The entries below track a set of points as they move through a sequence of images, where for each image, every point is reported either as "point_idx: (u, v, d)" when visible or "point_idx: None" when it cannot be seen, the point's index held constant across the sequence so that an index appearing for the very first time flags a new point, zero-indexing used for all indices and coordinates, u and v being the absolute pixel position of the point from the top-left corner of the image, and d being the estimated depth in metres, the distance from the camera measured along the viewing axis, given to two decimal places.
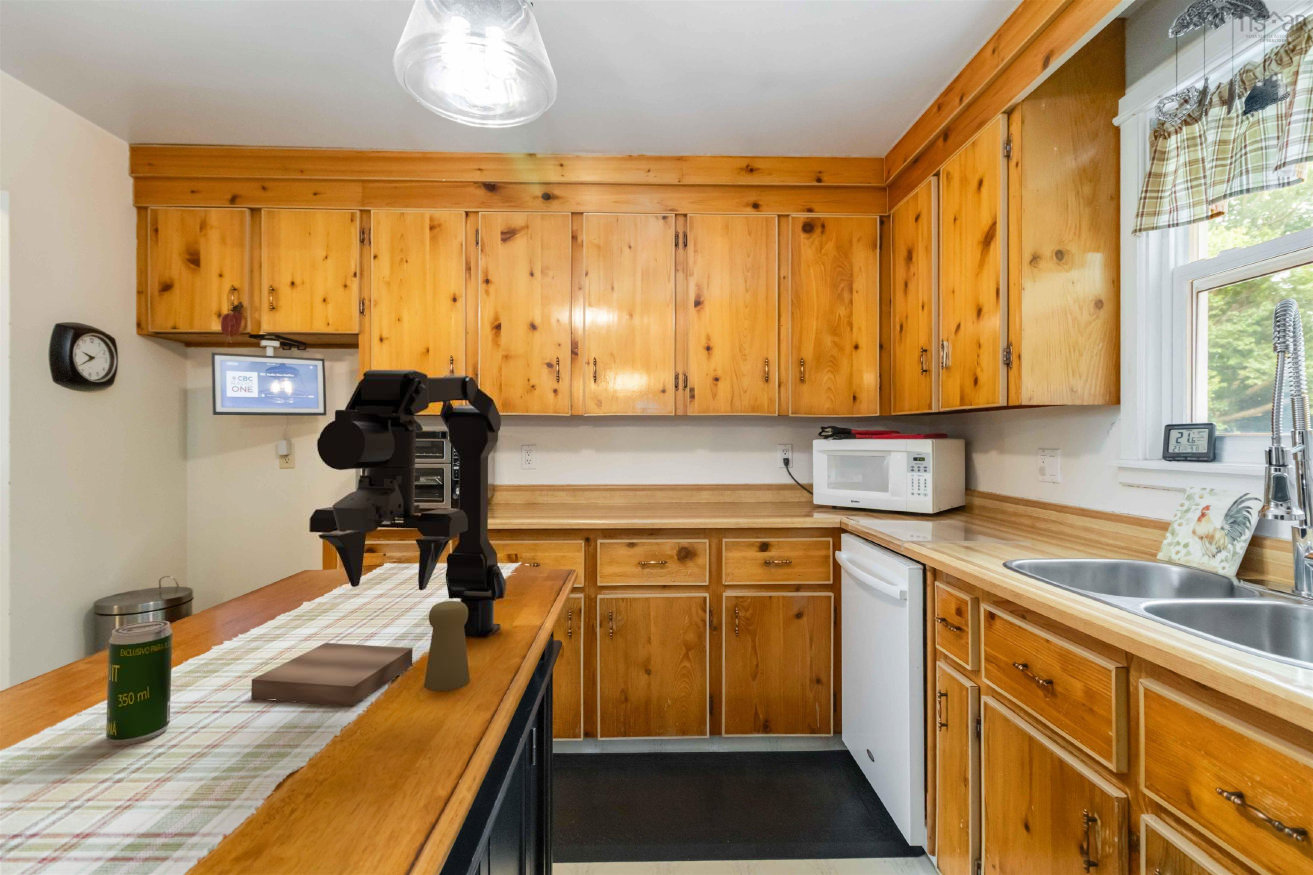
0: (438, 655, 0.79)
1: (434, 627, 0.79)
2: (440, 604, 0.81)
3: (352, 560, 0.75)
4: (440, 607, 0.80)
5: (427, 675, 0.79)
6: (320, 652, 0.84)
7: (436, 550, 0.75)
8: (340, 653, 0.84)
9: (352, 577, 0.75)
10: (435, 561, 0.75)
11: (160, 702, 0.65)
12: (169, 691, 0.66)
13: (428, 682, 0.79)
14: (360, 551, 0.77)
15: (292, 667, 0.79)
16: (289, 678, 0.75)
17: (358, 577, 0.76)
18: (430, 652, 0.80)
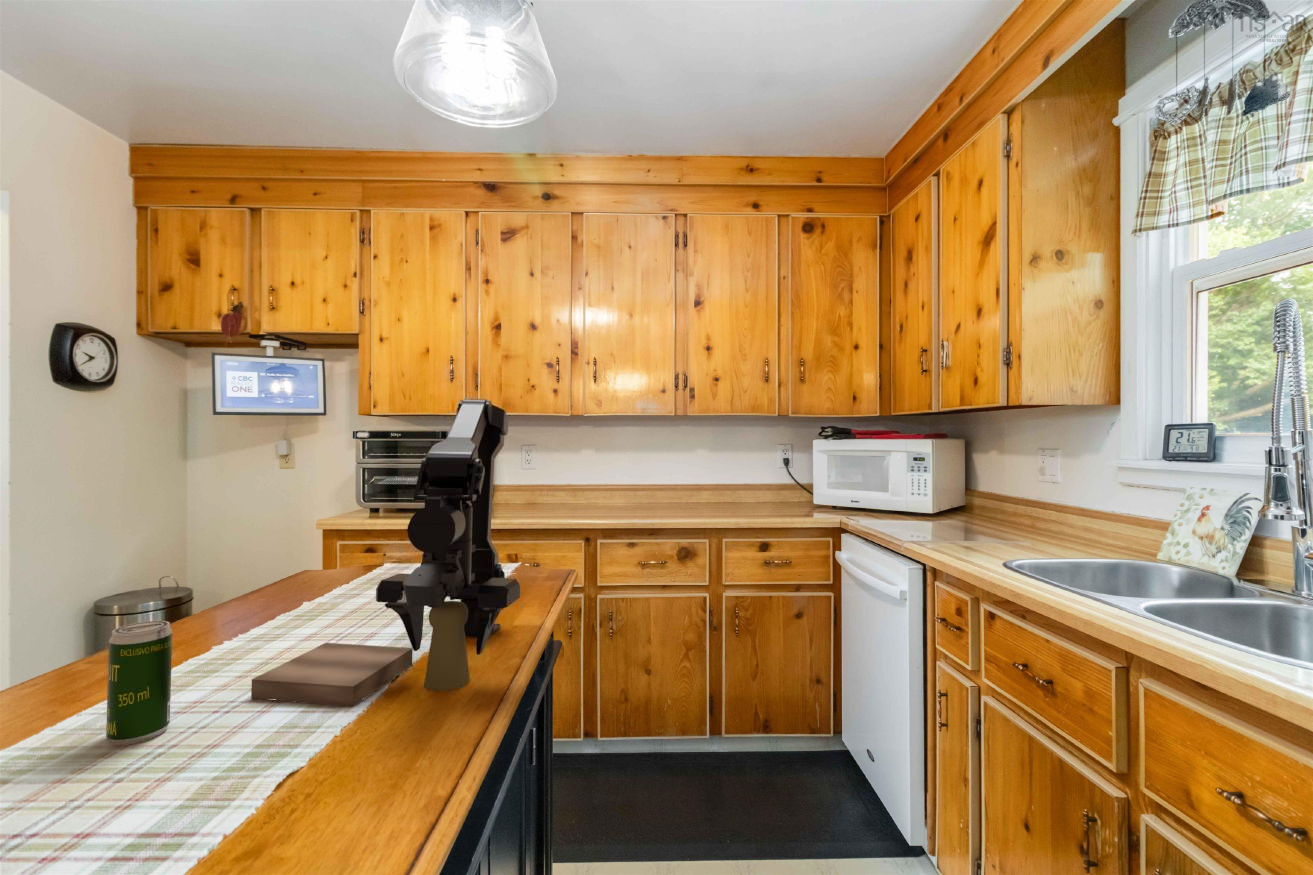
0: (438, 655, 0.79)
1: (434, 627, 0.79)
2: None
3: (414, 626, 0.81)
4: (440, 607, 0.80)
5: (427, 675, 0.79)
6: (320, 652, 0.84)
7: (491, 617, 0.81)
8: (340, 653, 0.84)
9: (414, 642, 0.81)
10: (490, 627, 0.81)
11: (160, 702, 0.65)
12: (169, 691, 0.66)
13: (428, 682, 0.79)
14: (420, 616, 0.83)
15: (292, 667, 0.79)
16: (289, 678, 0.75)
17: (419, 641, 0.82)
18: (430, 652, 0.80)
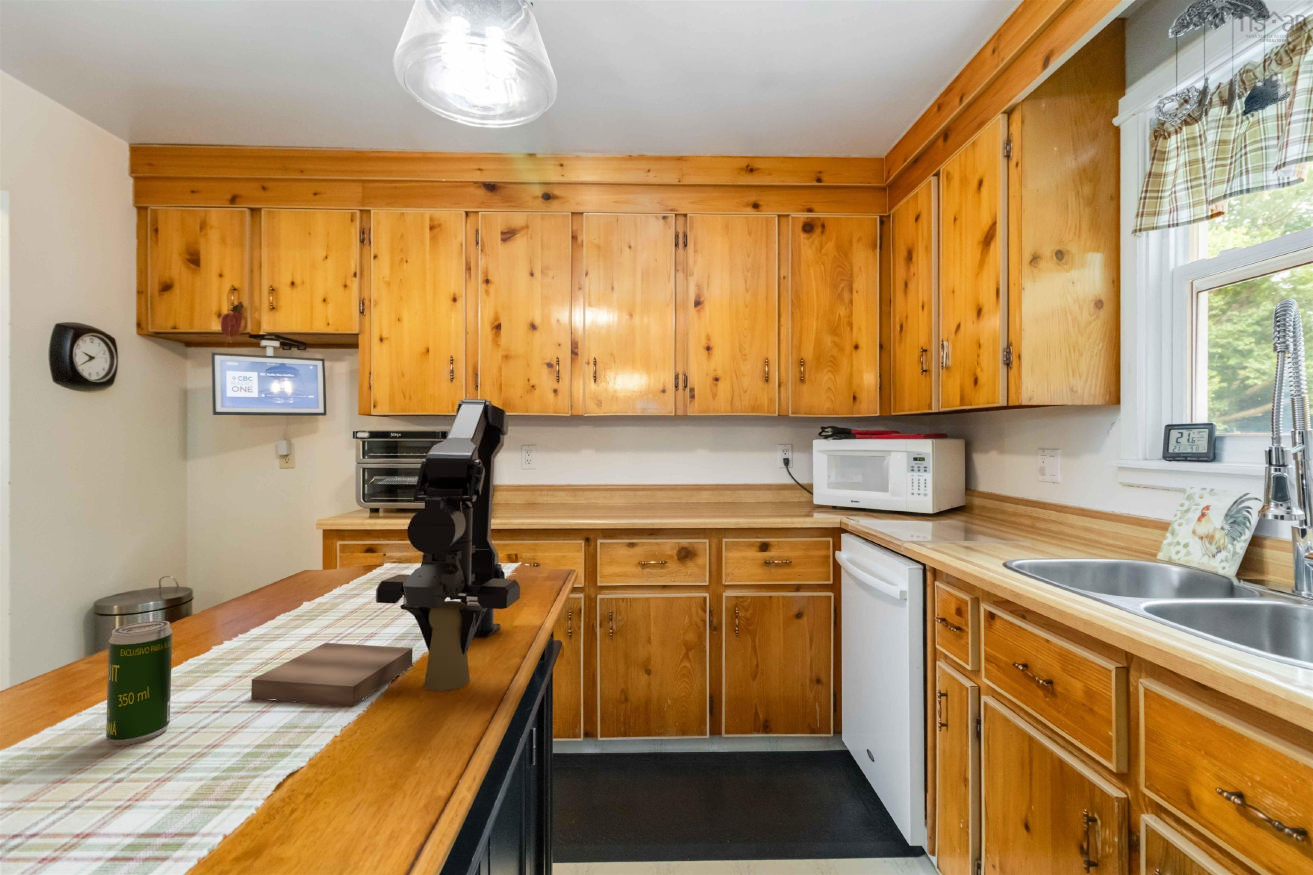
0: (438, 655, 0.79)
1: (434, 627, 0.79)
2: None
3: (429, 627, 0.81)
4: (440, 607, 0.80)
5: (427, 675, 0.79)
6: (320, 652, 0.84)
7: (476, 616, 0.82)
8: (340, 653, 0.84)
9: None
10: (475, 627, 0.82)
11: (160, 702, 0.65)
12: (169, 691, 0.66)
13: (428, 682, 0.79)
14: None
15: (292, 667, 0.79)
16: (289, 678, 0.75)
17: None
18: (430, 652, 0.80)
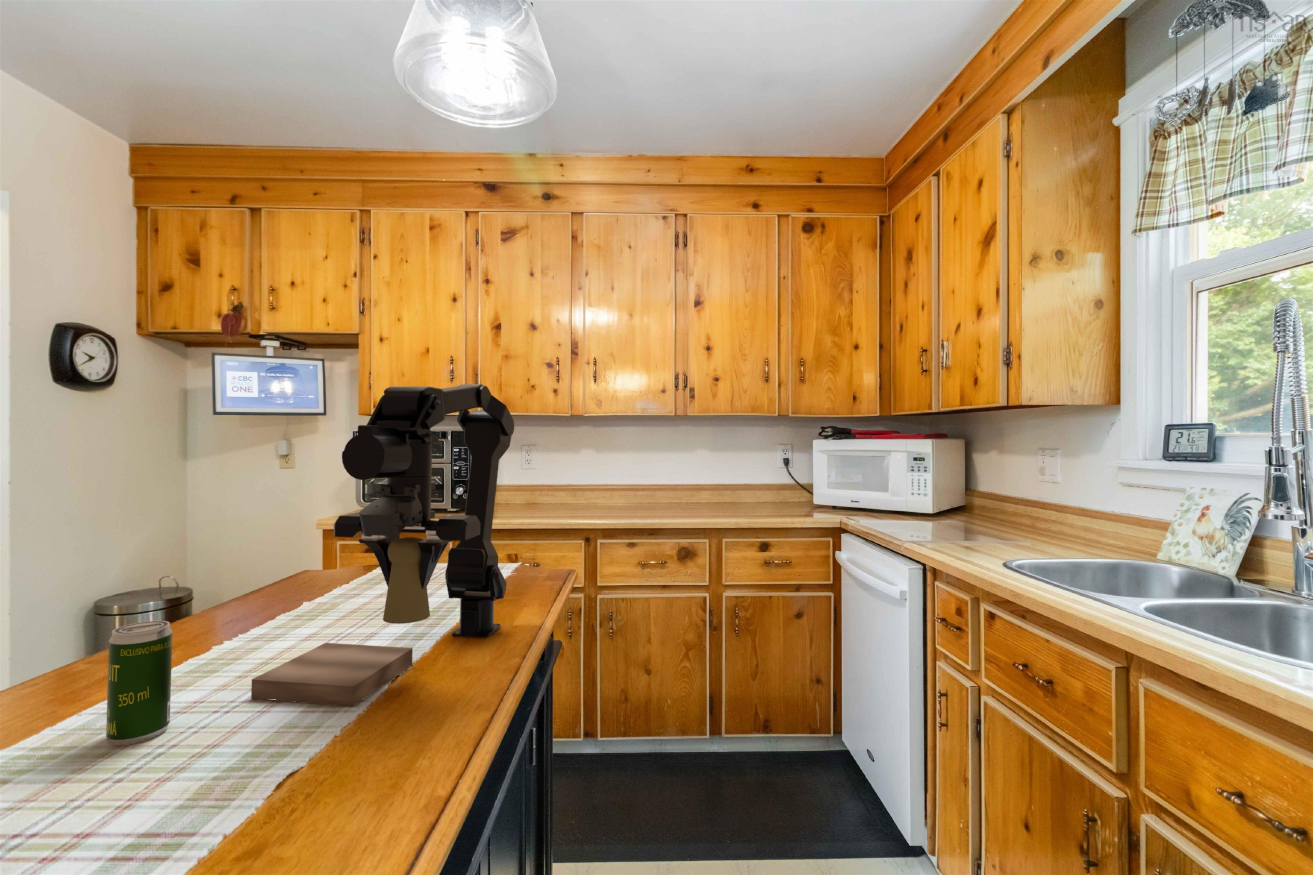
0: (396, 589, 0.79)
1: (393, 561, 0.79)
2: (399, 539, 0.80)
3: (389, 563, 0.81)
4: (399, 541, 0.79)
5: (386, 609, 0.79)
6: (320, 652, 0.84)
7: (436, 552, 0.82)
8: (340, 653, 0.84)
9: None
10: (435, 563, 0.82)
11: (160, 702, 0.65)
12: (169, 691, 0.66)
13: (387, 616, 0.79)
14: None
15: (292, 667, 0.79)
16: (289, 678, 0.75)
17: None
18: (389, 586, 0.80)
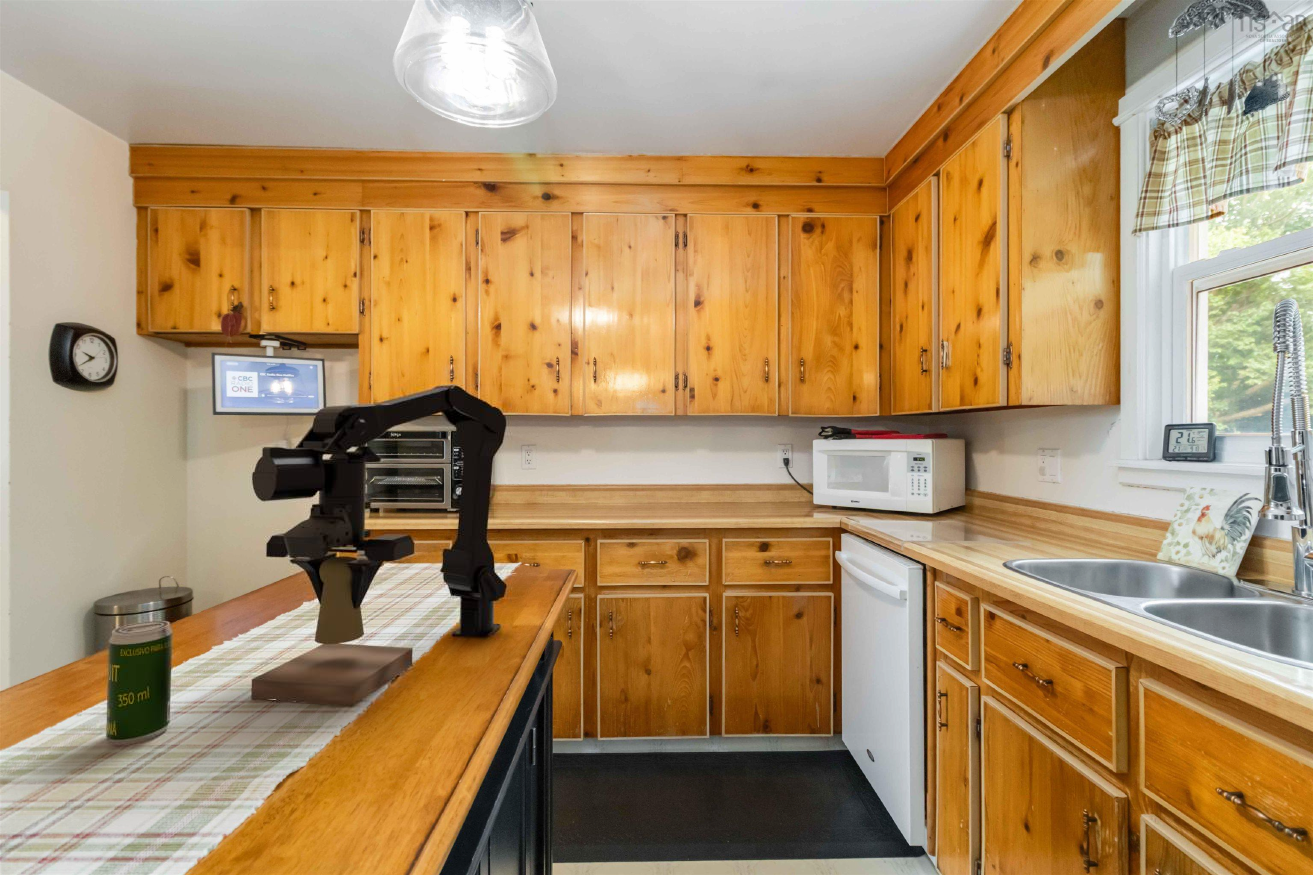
0: (327, 609, 0.79)
1: (323, 581, 0.79)
2: (331, 559, 0.80)
3: (322, 582, 0.81)
4: (330, 561, 0.79)
5: (317, 629, 0.79)
6: (320, 652, 0.84)
7: (369, 572, 0.82)
8: (340, 653, 0.84)
9: None
10: (368, 582, 0.82)
11: (160, 702, 0.65)
12: (169, 691, 0.66)
13: (317, 636, 0.79)
14: None
15: (292, 667, 0.79)
16: (289, 678, 0.75)
17: None
18: (320, 606, 0.80)
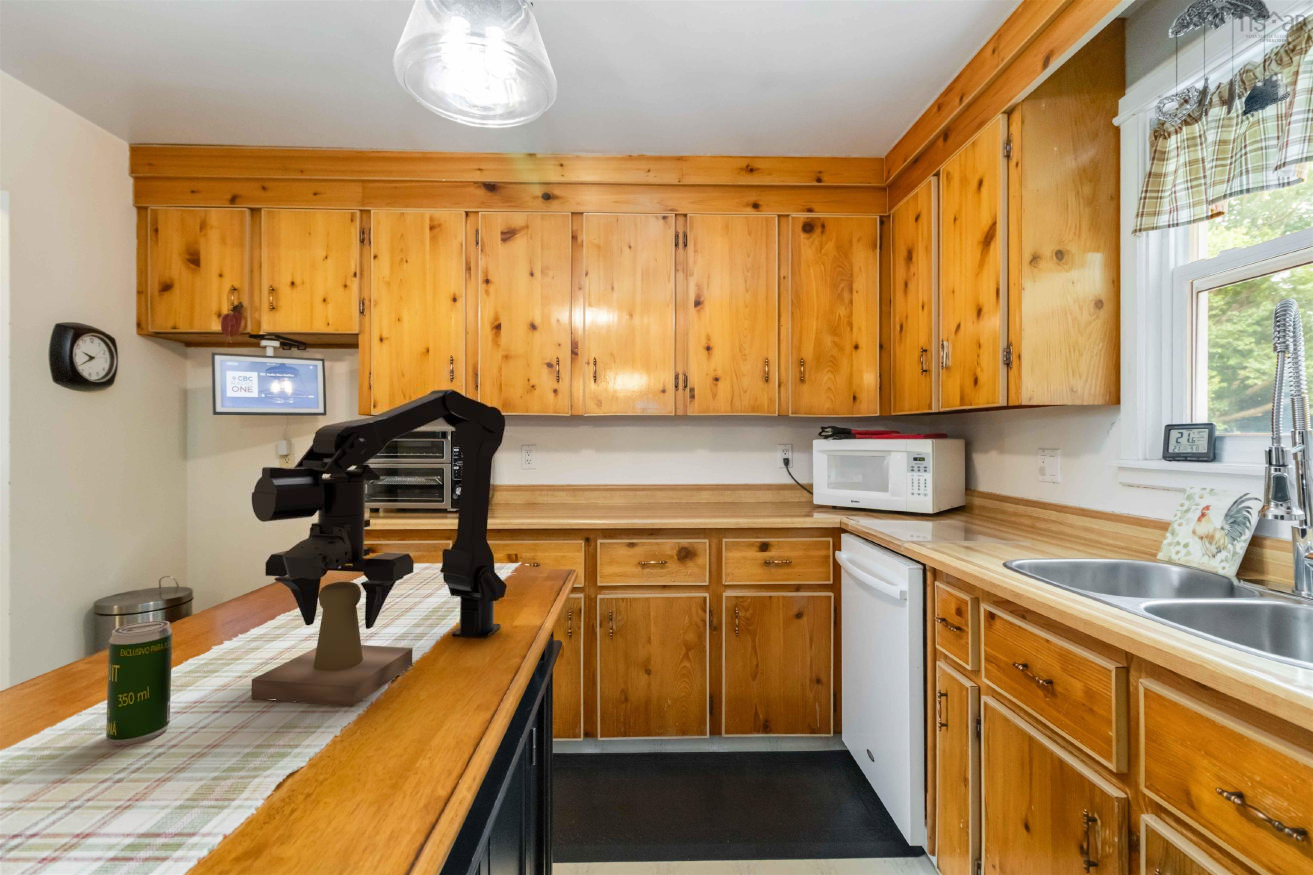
0: (326, 635, 0.79)
1: (323, 607, 0.79)
2: (331, 584, 0.80)
3: (307, 600, 0.81)
4: (329, 587, 0.79)
5: (316, 655, 0.79)
6: None
7: (382, 591, 0.81)
8: None
9: (306, 616, 0.81)
10: (382, 602, 0.81)
11: (160, 702, 0.65)
12: (169, 691, 0.66)
13: (316, 662, 0.79)
14: (315, 591, 0.83)
15: (292, 667, 0.79)
16: (289, 678, 0.75)
17: (312, 616, 0.82)
18: (319, 632, 0.79)
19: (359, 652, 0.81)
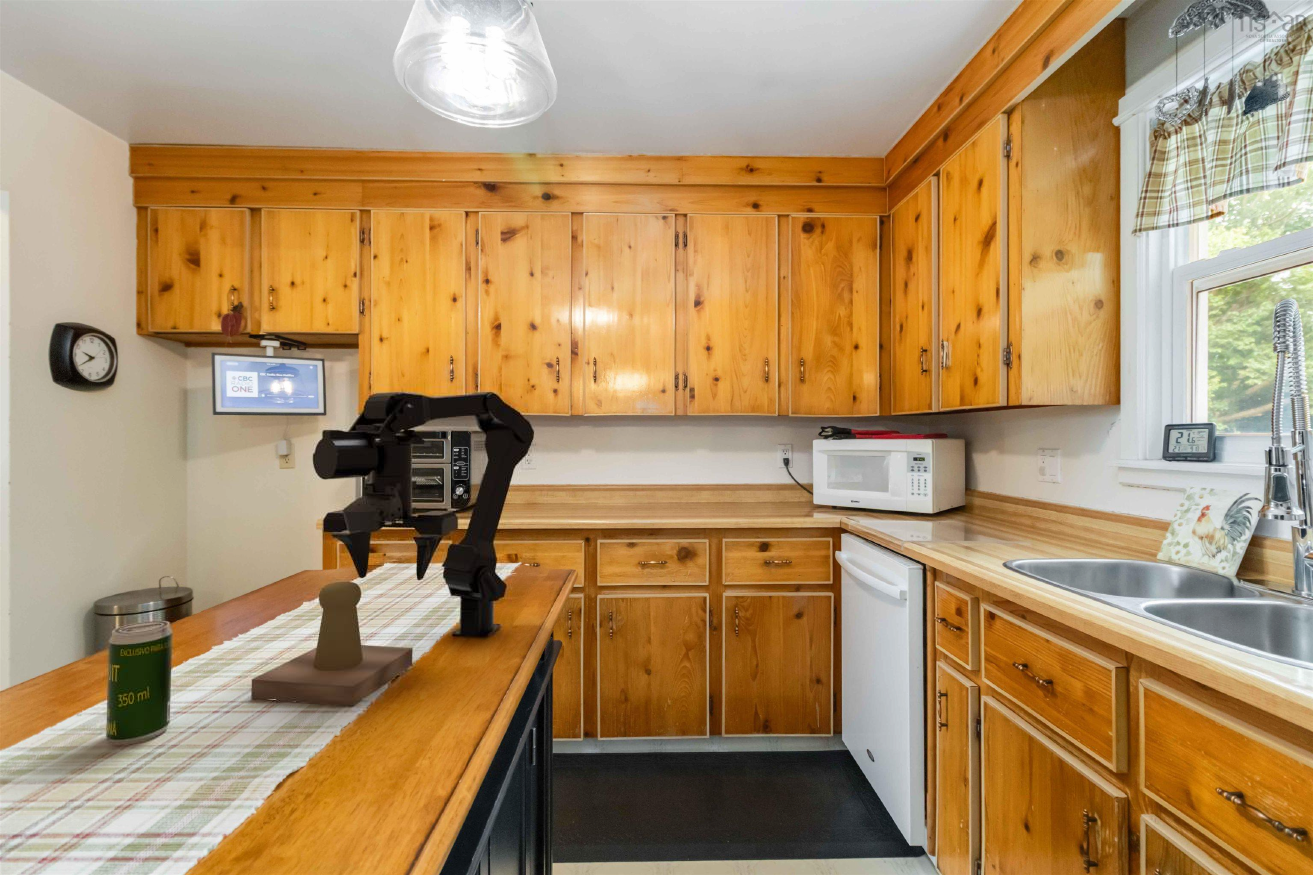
0: (326, 635, 0.79)
1: (323, 607, 0.79)
2: (331, 584, 0.80)
3: (360, 555, 0.88)
4: (330, 587, 0.79)
5: (316, 655, 0.79)
6: None
7: (431, 546, 0.88)
8: None
9: (360, 570, 0.88)
10: (430, 556, 0.88)
11: (160, 702, 0.65)
12: (169, 691, 0.66)
13: (316, 662, 0.79)
14: (366, 547, 0.90)
15: (292, 667, 0.79)
16: (289, 678, 0.75)
17: (365, 570, 0.89)
18: (319, 632, 0.79)
19: (359, 652, 0.81)
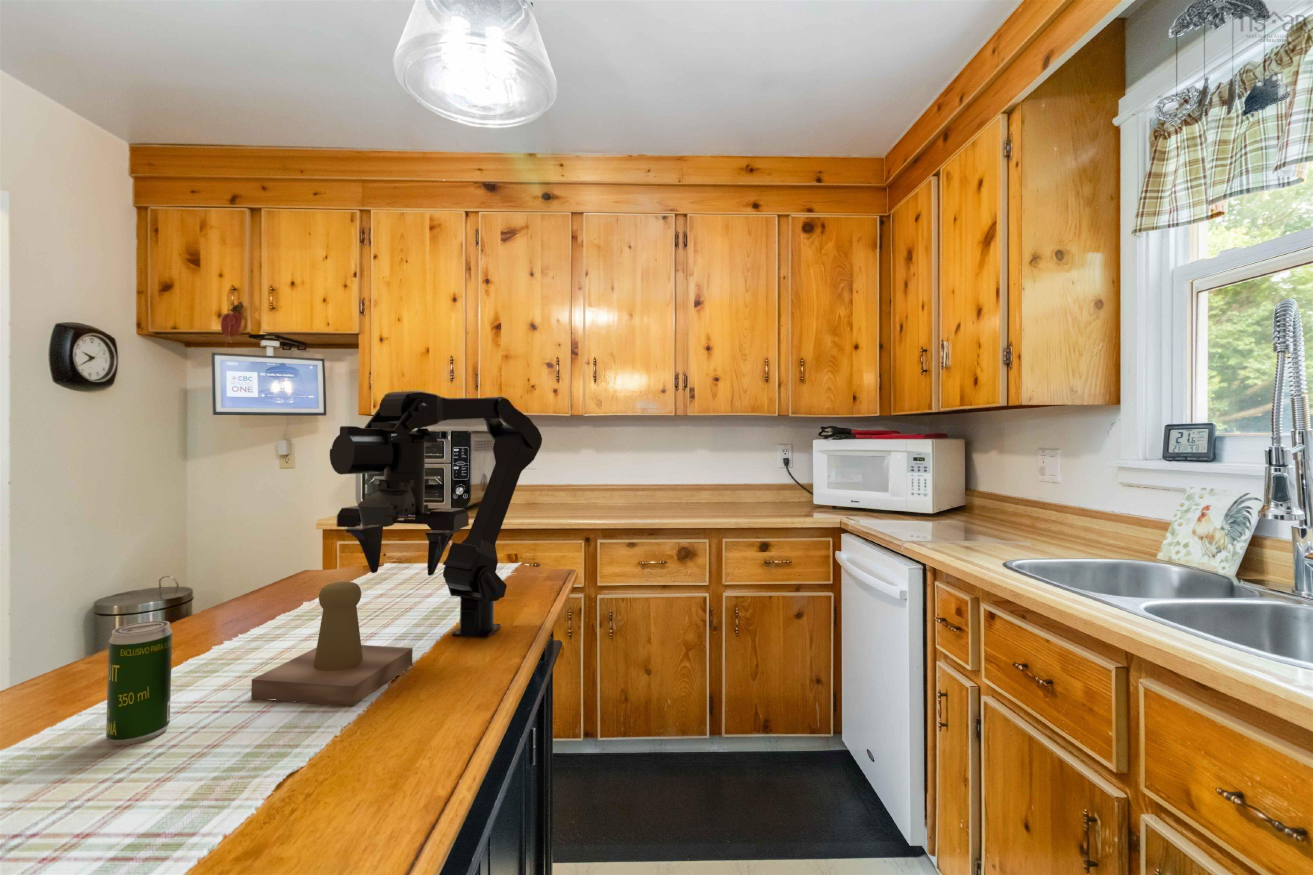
0: (326, 635, 0.79)
1: (323, 607, 0.79)
2: (331, 584, 0.80)
3: (372, 550, 0.90)
4: (330, 587, 0.79)
5: (316, 655, 0.79)
6: None
7: (442, 542, 0.90)
8: None
9: (372, 565, 0.89)
10: (441, 552, 0.90)
11: (160, 702, 0.65)
12: (169, 691, 0.66)
13: (316, 662, 0.79)
14: (378, 543, 0.91)
15: (292, 667, 0.79)
16: (289, 678, 0.75)
17: (377, 565, 0.90)
18: (319, 632, 0.79)
19: (359, 652, 0.81)
